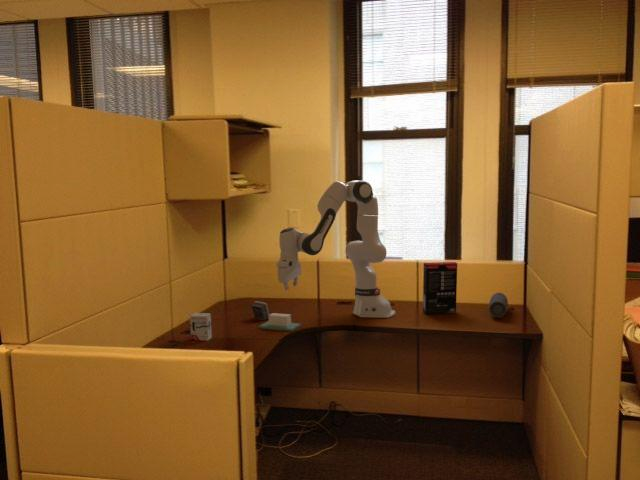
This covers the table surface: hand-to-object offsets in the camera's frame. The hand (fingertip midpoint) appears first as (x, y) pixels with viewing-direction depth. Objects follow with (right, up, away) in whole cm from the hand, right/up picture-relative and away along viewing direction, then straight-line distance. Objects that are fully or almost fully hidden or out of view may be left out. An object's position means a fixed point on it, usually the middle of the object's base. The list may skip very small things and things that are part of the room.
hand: (291, 287), depth 288 cm
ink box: (-41, -22, -21) cm, 51 cm away
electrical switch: (-16, -18, +14) cm, 28 cm away
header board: (-5, -19, -3) cm, 20 cm away
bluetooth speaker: (+108, -15, +12) cm, 110 cm away
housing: (-5, -18, -3) cm, 19 cm away
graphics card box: (+79, -15, +19) cm, 82 cm away
